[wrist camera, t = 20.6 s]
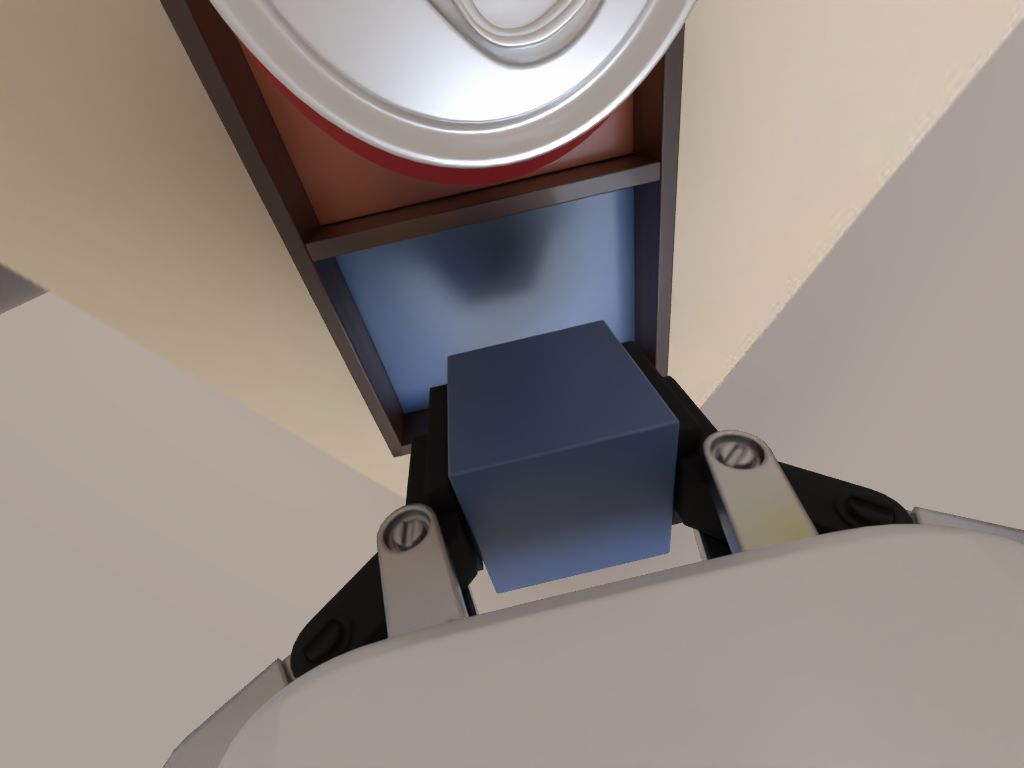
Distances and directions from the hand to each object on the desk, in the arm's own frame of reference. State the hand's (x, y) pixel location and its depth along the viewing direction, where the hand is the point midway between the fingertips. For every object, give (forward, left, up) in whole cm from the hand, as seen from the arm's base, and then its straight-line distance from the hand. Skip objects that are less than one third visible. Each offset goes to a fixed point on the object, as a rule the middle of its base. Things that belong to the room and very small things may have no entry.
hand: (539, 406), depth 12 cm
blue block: (0, 0, 0) cm, 0 cm away
